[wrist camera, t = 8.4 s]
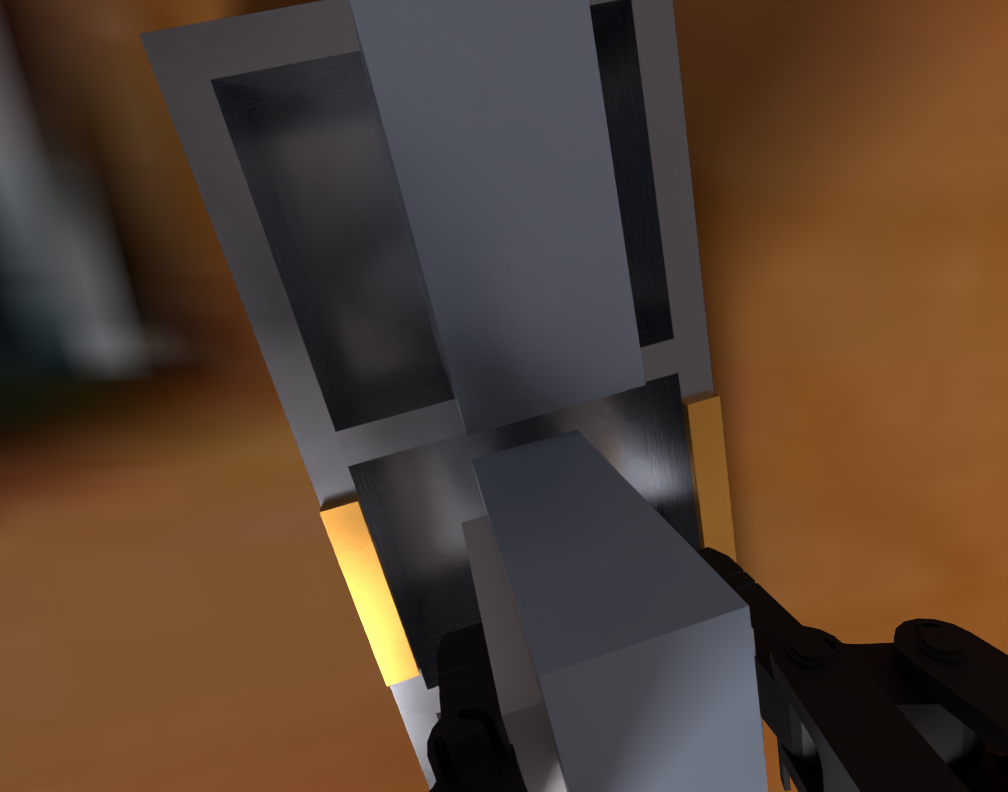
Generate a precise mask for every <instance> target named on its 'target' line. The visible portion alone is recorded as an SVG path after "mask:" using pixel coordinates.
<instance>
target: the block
mask: <svg viewBox="0 0 1008 792" xmlns="http://www.w3.org/2000/svg"><path fill="white" fill-rule="evenodd" d="M471 461H472V465H473V469H474V472H475V476H476V480H477V483H478V487H479V491H480V494H481V498H482V502H483V506H484V509H485V513H486V516H487V519H488V523H489V526H490V529H491V532H492V536H493V539H494V542H495V546H496V549H497V552H498V556H499V559H500V562H501V565H502V569H503V572H504V575H505V579H506V582H507V585H508V589H509V592H510V595H511V598H512V602H513V605H514V608H515V612H516V615H517V618H518V622H519V625H520V628H521V631H522V635H523V638H524V641H525V645H526V648H527V651H528V655H529V658H530V661H531V664H532V668H533V671H534V674H535V678H536V681H537V684H538V688H539V691H540V694H541V697H542V701H543V704H544V708H545V712H546V716H547V719H548V723H549V727H550V731H551V735H552V738H553V742H554V746H555V750H556V753H557V757H558V761H559V765H560V769H561V772H562V776H563V780H564V784H565V787H566V791H567V792H768V785H767V776H766V766H765V756H764V746H763V737H762V727H761V717H760V708H759V698H758V688H757V678H756V669H755V659H754V649H753V640H752V630H751V620H750V611H749V605H748V604H747V603H746V602H745V601H744V600H743V599H742V598H741V597H740V596H739V595H738V594H737V593H736V592H735V591H734V590H733V589H732V588H731V587H730V586H729V585H728V584H727V583H726V582H725V581H724V580H723V579H722V578H721V577H720V576H719V575H718V573H717V572H716V571H715V570H714V569H713V568H712V567H711V566H710V565H709V564H708V563H707V562H706V561H705V560H704V559H703V558H702V557H701V556H700V555H699V554H698V553H697V552H696V551H695V550H694V549H693V548H692V547H691V546H690V545H689V544H688V543H687V542H686V541H685V540H684V539H683V538H682V537H681V535H680V534H679V533H678V532H677V531H676V530H675V529H674V528H673V527H672V526H671V525H670V524H669V523H668V522H667V521H666V520H665V519H664V518H663V517H662V516H661V515H660V514H659V513H658V512H657V511H656V510H655V509H654V508H653V507H652V506H651V505H650V504H649V503H648V502H647V501H646V500H645V499H644V497H643V496H642V495H641V494H640V493H639V492H638V491H637V490H636V489H635V488H634V487H633V486H632V485H631V484H630V483H629V482H628V481H627V480H626V479H625V478H624V477H623V476H622V475H621V474H620V473H619V472H618V471H617V470H616V469H615V468H614V467H613V466H612V465H611V464H610V463H609V462H608V461H607V460H606V458H605V457H604V456H603V455H602V454H601V453H600V452H599V451H598V450H597V449H596V448H595V447H594V446H593V445H592V444H591V443H590V442H589V441H588V440H587V439H586V438H585V437H584V436H583V435H582V434H581V433H580V432H579V431H578V430H573V431H570V432H566V433H563V434H559V435H556V436H552V437H549V438H545V439H542V440H538V441H535V442H532V443H528V444H525V445H521V446H518V447H514V448H511V449H507V450H504V451H500V452H497V453H493V454H490V455H486V456H483V457H479V458H476V459H472V460H471Z"/></svg>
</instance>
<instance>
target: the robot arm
mask: <svg viewBox="0 0 1008 792" xmlns="http://www.w3.org/2000/svg"><path fill="white" fill-rule="evenodd" d="M462 528H463V533H464V537H465V542H466V547H467V552H468V557H469V561H470V566H471V571H472V576H473V581H474V586H475V590H476V595H477V600H478V605H479V610H480V614H481V619H482V622H480V623H477V624H474V625H471V626H468V627H465V628H462V629H459V630H456V631H453V632H450V633H446V634H443V637H442V639H441V642H440V645H439V647H438V650H437V652H436V660H437V673H438V686H439V699H440V712H441V718H440V719H439V720H438V721H437V723H436V724H435V725H434V726H433V728H432V730H431V733H430V736H429V738H428V741H427V757H428V760H429V763H430V765H431V768H432V771H433V773H434V776H435V779H436V782H435V784H434V786H433V787H432V788H431V790H430V791H429V792H567V791H566V787H565V784H564V780H563V776H562V772H561V769H560V765H559V761H558V757H557V753H556V750H555V746H554V742H553V738H552V735H551V731H550V727H549V723H548V719H547V716H546V712H545V708H544V704H543V701H542V697H541V694H540V691H539V688H538V684H537V681H536V678H535V674H534V671H533V668H532V664H531V661H530V658H529V655H528V651H527V648H526V645H525V641H524V638H523V635H522V631H521V628H520V625H519V622H518V618H517V615H516V612H515V608H514V605H513V602H512V598H511V595H510V592H509V589H508V585H507V582H506V579H505V575H504V572H503V569H502V565H501V562H500V559H499V556H498V552H497V549H496V546H495V542H494V539H493V536H492V532H491V529H490V526H489V523H488V519H487V516H482V517H479V518H476V519H472V520H469V521H466V522H462ZM696 552H697V553H698V554H699V555H700V556H701V557H702V558H703V559H704V560H705V561H706V562H707V563H708V564H709V565H710V566H711V567H712V568H713V569H714V570H715V571H716V572H717V573H718V575H719V576H720V577H721V578H722V579H723V580H724V581H725V582H726V583H727V584H728V585H729V586H730V587H731V588H732V589H733V590H734V591H735V592H736V593H737V594H738V595H739V596H740V597H741V598H742V599H743V600H744V601H745V602H746V603H747V604H748V605H749V611H750V620H751V630H752V640H753V649H754V659H755V669H756V678H757V688H758V698H759V708H760V717H761V727H762V737H763V739H764V733H763V723H762V718H763V719H764V721H765V722H766V723H767V725H768V726H769V727H770V729H771V730H772V731H773V732H774V734H775V735H776V736H777V742H778V754H779V765H780V777H781V781H782V784H783V787H784V790H785V791H787V790H791V788H790V777H791V779H792V781H793V783H794V784H795V786H796V788H797V790H798V792H1008V655H1007V654H1005V653H1003V652H1002V651H1000V650H998V649H997V648H995V647H994V646H992V645H990V644H989V643H987V642H985V641H984V640H982V639H981V638H979V637H977V636H976V635H974V634H972V633H971V632H969V631H967V630H964V629H962V628H960V627H958V626H956V625H954V624H951V623H947V622H943V621H939V620H936V619H913V620H909V621H905V622H903V623H902V624H901V625H899V626H898V627H897V628H896V630H895V635H894V643H875V644H844V643H842V642H841V641H839V640H838V639H837V638H836V637H835V636H833V635H831V634H829V633H827V632H824V631H822V630H820V629H816V628H811V627H806V626H802V625H801V624H800V623H799V622H798V621H797V620H796V619H795V618H794V617H793V616H792V615H791V614H790V613H788V612H787V611H786V610H785V609H784V608H783V607H782V606H781V605H780V604H779V603H778V602H777V601H776V600H775V599H774V598H773V597H772V596H771V595H769V594H768V593H767V592H766V591H765V590H764V589H763V588H762V587H761V586H760V585H759V584H758V583H757V584H756V583H755V580H754V579H753V578H751V577H750V576H749V575H748V574H747V573H746V572H744V571H743V569H742V568H741V567H740V566H739V565H738V564H737V563H736V562H735V561H734V560H732V559H731V558H730V557H729V556H728V555H726V554H723V553H721V552H719V551H717V550H715V549H713V548H710V547H706V548H703V549H700V550H697V551H696Z"/></svg>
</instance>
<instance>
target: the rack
mask: <svg viewBox="0 0 1008 792" xmlns="http://www.w3.org/2000/svg"><path fill="white" fill-rule="evenodd" d="M139 35H140V37H141V40H142V43H143V45H144V48H145V50H146V53H147V56H148V58H149V61H150V63H151V66H152V69H153V71H154V74H155V76H156V79H157V82H158V84H159V87H160V89H161V92H162V94H163V97H164V100H165V102H166V105H167V107H168V110H169V113H170V115H171V118H172V120H173V123H174V126H175V128H176V131H177V133H178V136H179V139H180V141H181V144H182V146H183V149H184V152H185V154H186V157H187V159H188V162H189V165H190V167H191V170H192V172H193V175H194V178H195V180H196V183H197V185H198V188H199V191H200V193H201V196H202V198H203V201H204V204H205V206H206V209H207V211H208V214H209V217H210V219H211V222H212V224H213V227H214V230H215V232H216V235H217V237H218V240H219V243H220V245H221V248H222V250H223V253H224V256H225V258H226V261H227V263H228V266H229V269H230V271H231V274H232V276H233V279H234V282H235V284H236V287H237V289H238V292H239V295H240V297H241V300H242V302H243V305H244V308H245V310H246V313H247V315H248V318H249V321H250V323H251V326H252V328H253V331H254V334H255V336H256V339H257V341H258V344H259V347H260V349H261V352H262V354H263V357H264V360H265V362H266V365H267V367H268V370H269V372H270V375H271V378H272V380H273V383H274V385H275V388H276V391H277V393H278V396H279V398H280V401H281V404H282V406H283V409H284V411H285V414H286V417H287V419H288V422H289V424H290V427H291V430H292V432H293V435H294V437H295V440H296V443H297V445H298V448H299V450H300V453H301V456H302V458H303V461H304V463H305V466H306V469H307V471H308V474H309V476H310V479H311V482H312V484H313V487H314V489H315V492H316V495H317V497H318V500H319V502H320V505H321V509H320V515H321V518H322V520H323V523H324V525H325V528H326V530H327V533H328V536H329V538H330V541H331V543H332V546H333V548H334V551H335V554H336V556H337V559H338V561H339V564H340V567H341V569H342V572H343V574H344V577H345V579H346V582H347V585H348V587H349V590H350V592H351V595H352V598H353V600H354V603H355V605H356V608H357V610H358V613H359V616H360V618H361V621H362V623H363V626H364V628H365V631H366V634H367V636H368V639H369V641H370V644H371V647H372V649H373V652H374V654H375V657H376V659H377V662H378V665H379V667H380V670H381V672H382V675H383V677H384V680H385V683H386V685H387V686H389V685H390V687H391V689H392V692H393V695H394V697H395V700H396V702H397V705H398V708H399V710H400V713H401V715H402V718H403V721H404V723H405V726H406V728H407V731H408V734H409V736H410V739H411V741H412V744H413V747H414V749H415V752H416V754H417V757H418V760H419V762H420V765H421V767H422V770H423V773H424V775H425V778H426V780H427V783H428V786H429V788H430V790H431V788H432V787H433V786H434V784H435V782H436V779H435V776H434V773H433V771H432V768H431V765H430V763H429V760H428V757H427V741H428V738H429V736H430V733H431V730H432V728H433V726H434V725H435V724H436V723H437V721H438V720H439V719H440V718H441V712H440V699H439V686H438V673H437V660H436V652H437V650H438V647H439V645H440V642H441V639H442V637H443V634H446V633H450V632H453V631H456V630H459V629H462V628H465V627H468V626H471V625H474V624H477V623H480V622H482V619H481V614H480V610H479V605H478V600H477V595H476V590H475V586H474V581H473V576H472V571H471V566H470V561H469V557H468V552H467V547H466V542H465V537H464V533H463V528H462V522H466V521H469V520H472V519H476V518H479V517H482V516H486V513H485V509H484V506H483V502H482V498H481V494H480V491H479V487H478V483H477V480H476V476H475V472H474V469H473V465H472V461H471V460H472V459H476V458H479V457H483V456H486V455H490V454H493V453H497V452H500V451H504V450H507V449H511V448H514V447H518V446H521V445H525V444H528V443H532V442H535V441H538V440H542V439H545V438H549V437H552V436H556V435H559V434H563V433H566V432H570V431H573V430H578V431H579V432H580V433H581V434H582V435H583V436H584V437H585V438H586V439H587V440H588V441H589V442H590V443H591V444H592V445H593V446H594V447H595V448H596V449H597V450H598V451H599V452H600V453H601V454H602V455H603V456H604V457H605V458H606V460H607V461H608V462H609V463H610V464H611V465H612V466H613V467H614V468H615V469H616V470H617V471H618V472H619V473H620V474H621V475H622V476H623V477H624V478H625V479H626V480H627V481H628V482H629V483H630V484H631V485H632V486H633V487H634V488H635V489H636V490H637V491H638V492H639V493H640V494H641V495H642V496H643V497H644V499H645V500H646V501H647V502H648V503H649V504H650V505H651V506H652V507H653V508H654V509H655V510H656V511H657V512H658V513H659V514H660V515H661V516H662V517H663V518H664V519H665V520H666V521H667V522H668V523H669V524H670V525H671V526H672V527H673V528H674V529H675V530H676V531H677V532H678V533H679V534H680V535H681V537H682V538H683V539H684V540H685V541H686V542H687V543H688V544H689V545H690V546H691V547H692V548H693V549H694V550H695V551H697V550H700V549H703V548H706V547H710V548H713V549H715V550H717V551H719V552H721V553H723V554H726V555H728V556H729V557H730V558H731V559H732V560H734V561H735V562H736V563H737V561H736V551H735V541H734V531H733V521H732V511H731V501H730V492H729V482H728V472H727V462H726V452H725V442H724V432H723V422H722V412H721V403H720V395H717V394H715V393H714V390H713V380H712V371H711V361H710V352H709V342H708V333H707V323H706V313H705V304H704V294H703V285H702V275H701V266H700V256H699V247H698V237H697V228H696V218H695V208H694V199H693V189H692V180H691V170H690V161H689V151H688V142H687V132H686V123H685V113H684V104H683V94H682V84H681V75H680V65H679V56H678V46H677V37H676V27H675V18H674V8H673V0H322V1H317V2H311V3H306V4H300V5H295V6H289V7H284V8H278V9H273V10H267V11H262V12H257V13H251V14H246V15H240V16H235V17H229V18H224V19H218V20H213V21H207V22H202V23H197V24H191V25H186V26H180V27H175V28H169V29H164V30H158V31H153V32H148V33H142V34H139Z"/></svg>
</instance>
